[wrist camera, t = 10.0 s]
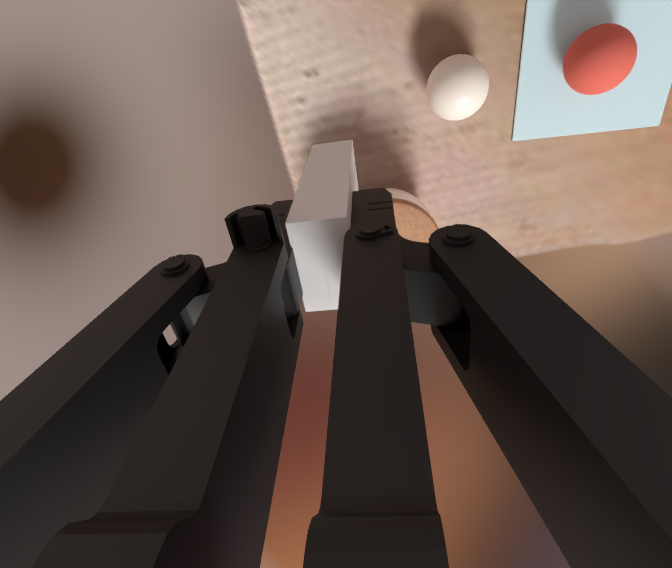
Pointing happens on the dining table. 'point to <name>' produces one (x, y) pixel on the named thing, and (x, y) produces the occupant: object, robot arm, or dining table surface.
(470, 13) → the dining table surface
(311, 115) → the dining table surface
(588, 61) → the red ball
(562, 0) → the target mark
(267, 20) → the dining table surface
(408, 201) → the lidded jar
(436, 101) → the cue ball
